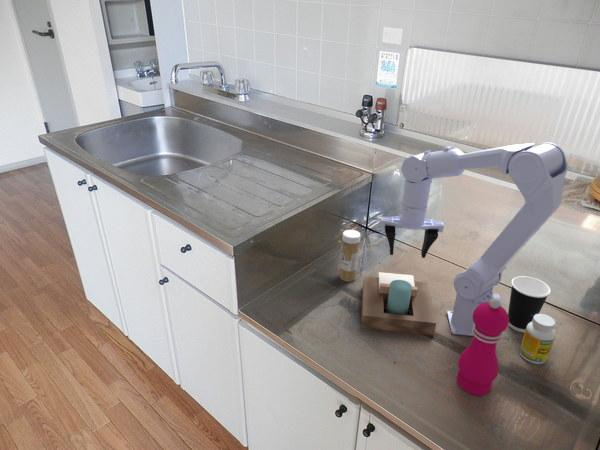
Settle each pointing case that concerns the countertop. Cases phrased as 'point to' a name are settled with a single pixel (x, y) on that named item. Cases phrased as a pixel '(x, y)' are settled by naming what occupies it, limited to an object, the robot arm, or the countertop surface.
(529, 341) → the supplement bottle
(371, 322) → the socket block
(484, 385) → the pepper mill
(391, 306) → the peg
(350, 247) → the sprinkles bottle
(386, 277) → the panel
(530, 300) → the dixie cup
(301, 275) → the countertop surface
